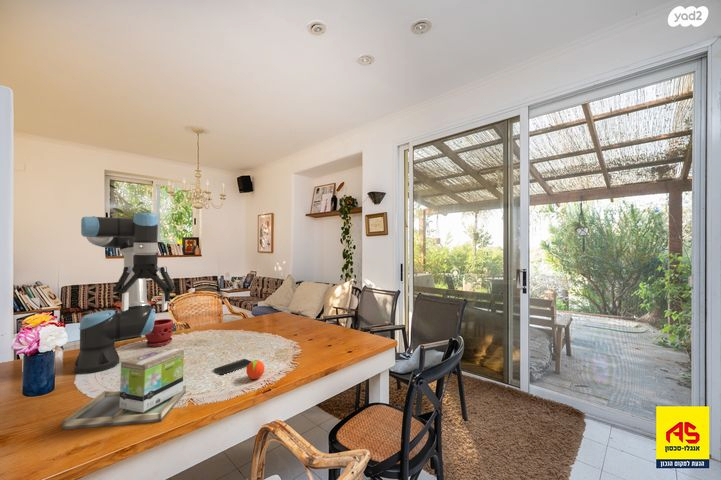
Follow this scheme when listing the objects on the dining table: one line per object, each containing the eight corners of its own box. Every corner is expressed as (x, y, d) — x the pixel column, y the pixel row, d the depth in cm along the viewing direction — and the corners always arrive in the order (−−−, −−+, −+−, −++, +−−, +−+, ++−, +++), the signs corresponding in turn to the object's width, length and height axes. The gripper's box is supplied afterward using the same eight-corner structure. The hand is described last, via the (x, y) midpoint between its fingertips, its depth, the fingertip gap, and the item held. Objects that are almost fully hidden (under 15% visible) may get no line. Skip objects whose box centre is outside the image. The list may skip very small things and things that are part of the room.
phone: (212, 369, 131) (244, 358, 143) (212, 371, 131) (244, 360, 143) (222, 373, 126) (254, 362, 138) (222, 376, 126) (254, 365, 138)
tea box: (143, 413, 94) (144, 364, 94) (118, 409, 97) (119, 361, 97) (184, 391, 109) (184, 348, 109) (161, 387, 111) (161, 345, 111)
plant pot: (157, 339, 172) (157, 318, 173) (178, 341, 171) (178, 319, 171) (137, 347, 160) (137, 324, 160) (160, 349, 158) (160, 325, 158)
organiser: (61, 429, 90) (61, 421, 90) (104, 397, 108) (104, 391, 108) (161, 421, 94) (161, 413, 94) (185, 392, 113) (185, 385, 113)
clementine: (262, 382, 120) (262, 364, 120) (244, 384, 119) (244, 365, 119) (265, 374, 128) (265, 356, 128) (248, 375, 127) (248, 357, 127)
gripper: (102, 254, 112) (101, 313, 112) (177, 255, 115) (176, 312, 116) (115, 252, 119) (114, 308, 119) (185, 253, 123) (184, 307, 123)
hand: (145, 310), depth 118 cm, fingers open, 13 cm apart
